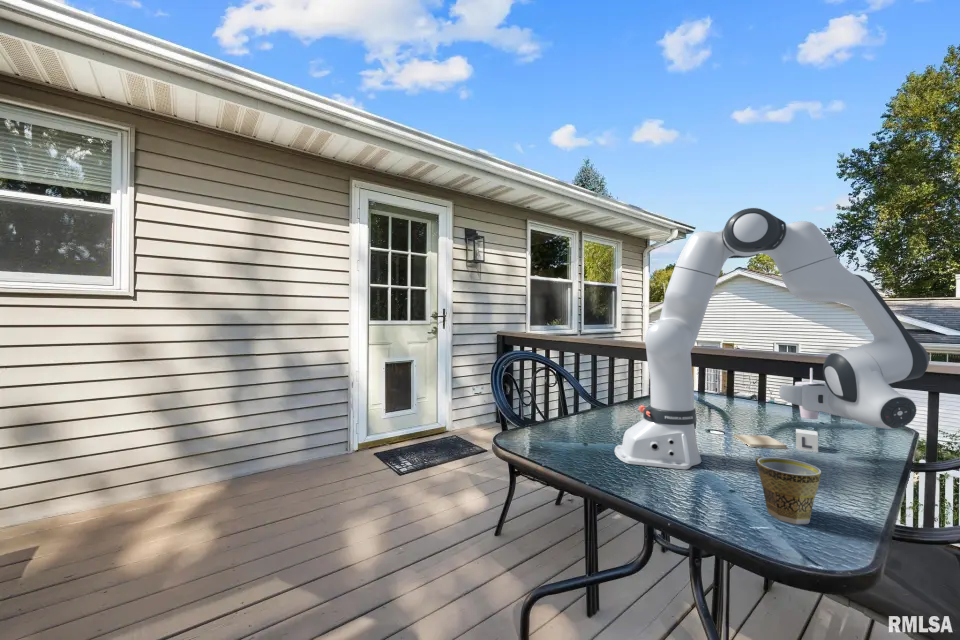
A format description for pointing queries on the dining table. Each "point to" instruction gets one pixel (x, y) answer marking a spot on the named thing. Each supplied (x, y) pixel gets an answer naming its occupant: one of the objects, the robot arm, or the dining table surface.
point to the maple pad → (760, 441)
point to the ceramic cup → (788, 488)
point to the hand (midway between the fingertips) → (806, 389)
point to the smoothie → (803, 412)
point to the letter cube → (807, 440)
